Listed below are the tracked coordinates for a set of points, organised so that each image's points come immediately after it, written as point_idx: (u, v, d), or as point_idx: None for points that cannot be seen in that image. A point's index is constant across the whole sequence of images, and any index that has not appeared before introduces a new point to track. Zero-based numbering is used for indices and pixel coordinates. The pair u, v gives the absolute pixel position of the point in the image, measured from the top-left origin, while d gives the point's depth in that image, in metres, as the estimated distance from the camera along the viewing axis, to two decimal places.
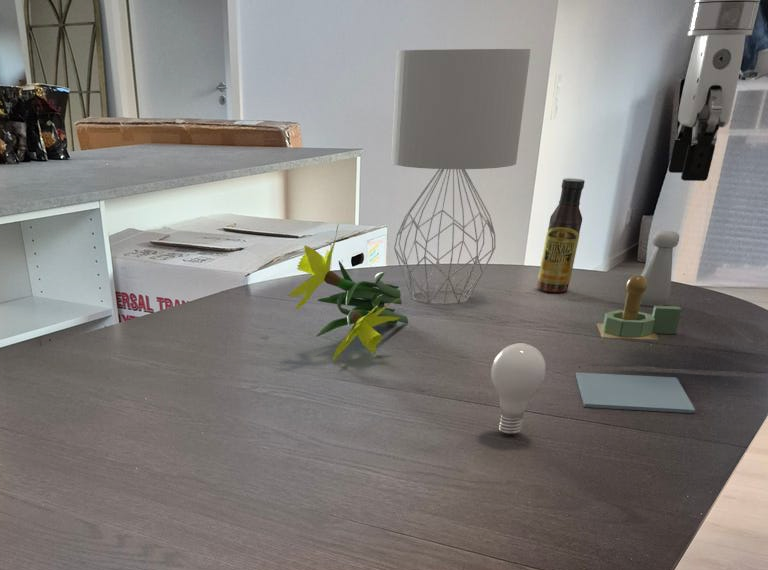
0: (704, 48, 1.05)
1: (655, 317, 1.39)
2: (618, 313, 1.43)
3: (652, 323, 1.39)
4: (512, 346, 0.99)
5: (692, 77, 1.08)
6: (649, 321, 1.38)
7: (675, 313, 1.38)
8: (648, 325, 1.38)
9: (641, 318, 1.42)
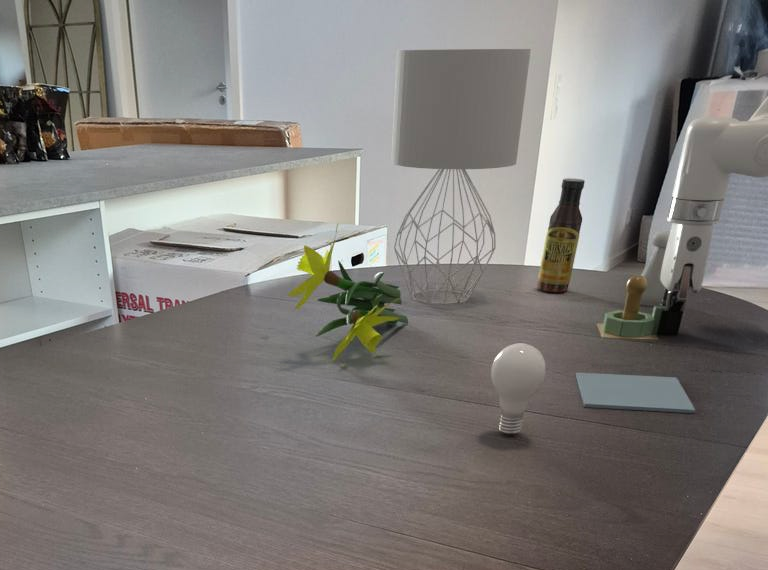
0: (679, 234, 1.30)
1: (655, 317, 1.39)
2: (618, 313, 1.43)
3: (652, 323, 1.39)
4: (512, 346, 0.99)
5: (670, 253, 1.33)
6: (649, 321, 1.38)
7: None
8: (648, 325, 1.38)
9: (641, 318, 1.42)
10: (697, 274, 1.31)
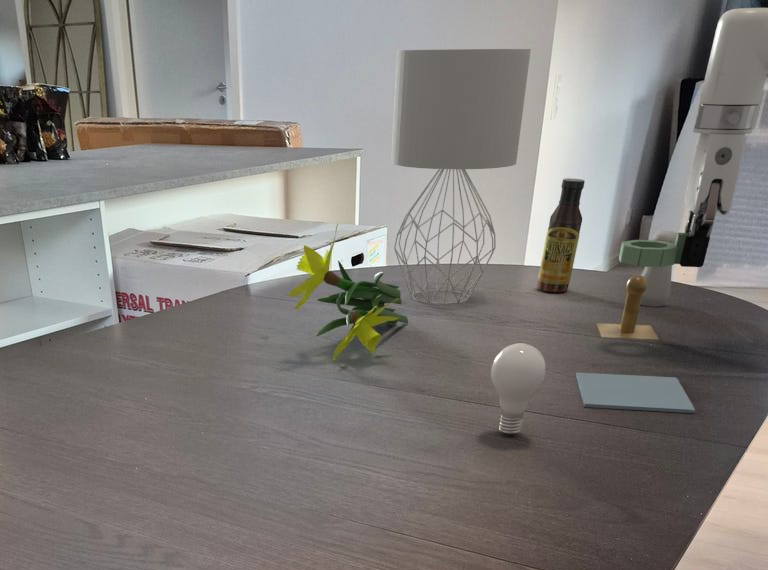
0: (707, 145, 1.15)
1: (678, 245, 1.24)
2: (636, 242, 1.28)
3: (674, 251, 1.24)
4: (512, 346, 0.99)
5: (697, 169, 1.18)
6: (671, 249, 1.23)
7: None
8: (670, 253, 1.24)
9: (662, 247, 1.27)
10: (726, 191, 1.16)
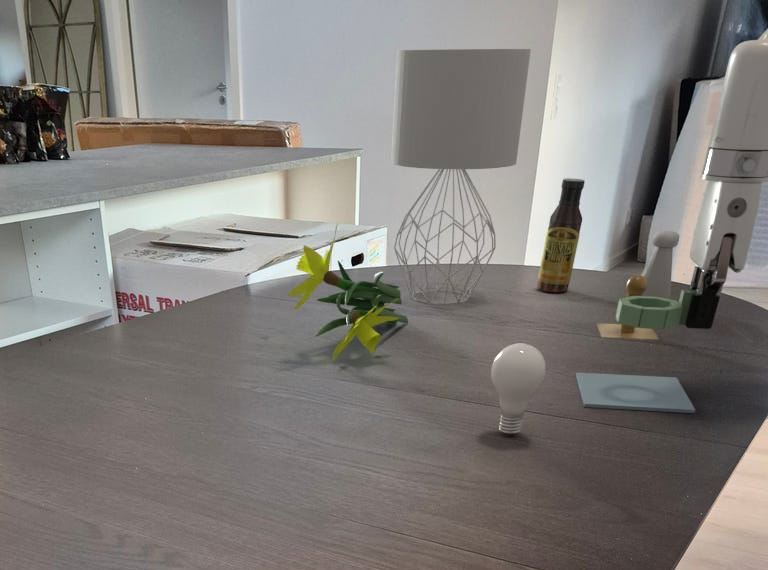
0: (718, 195, 1.00)
1: (683, 304, 1.10)
2: (635, 299, 1.13)
3: (679, 311, 1.09)
4: (512, 346, 0.99)
5: (705, 221, 1.03)
6: (676, 309, 1.09)
7: None
8: (674, 314, 1.09)
9: (665, 305, 1.12)
10: (740, 247, 1.01)
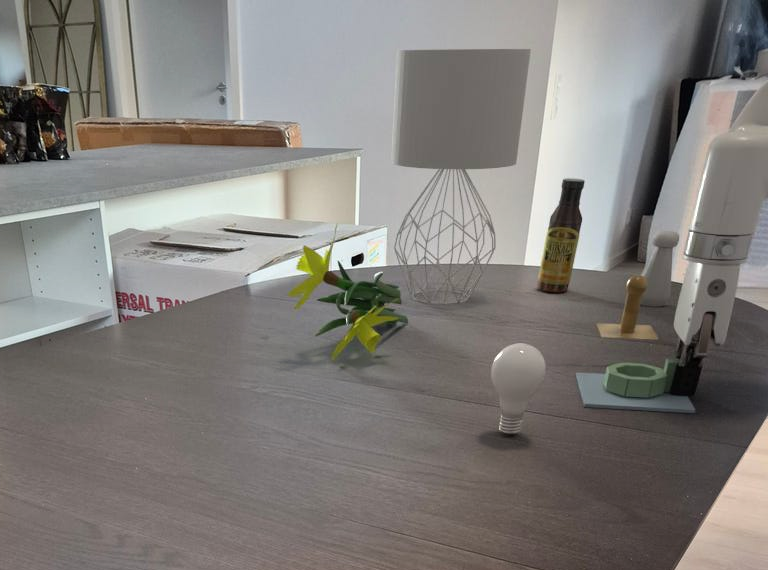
0: (699, 276, 1.05)
1: (667, 373, 1.15)
2: (622, 366, 1.18)
3: (664, 380, 1.14)
4: (512, 346, 0.99)
5: (687, 298, 1.08)
6: (660, 378, 1.14)
7: None
8: (659, 383, 1.14)
9: (650, 373, 1.17)
10: (720, 324, 1.06)
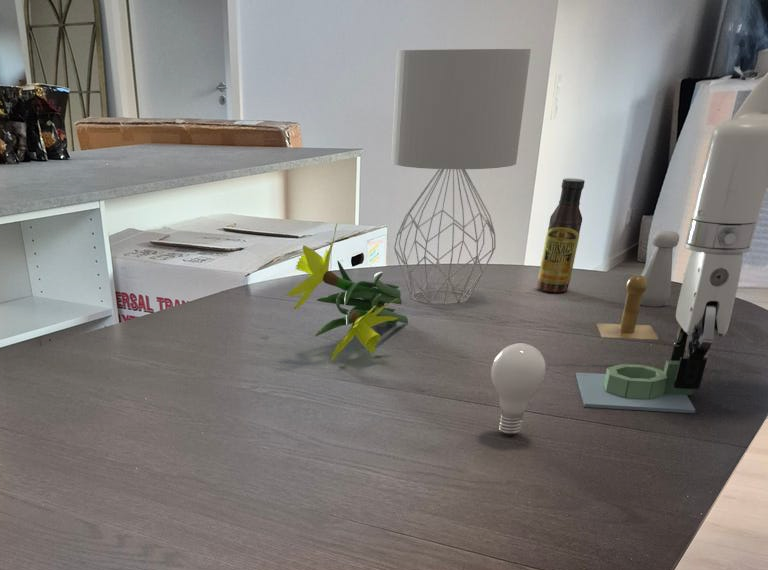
0: (701, 265, 1.04)
1: (668, 374, 1.15)
2: (622, 368, 1.18)
3: (664, 382, 1.14)
4: (512, 346, 0.99)
5: (689, 288, 1.08)
6: (660, 380, 1.14)
7: None
8: (659, 385, 1.14)
9: (650, 374, 1.17)
10: (723, 314, 1.06)
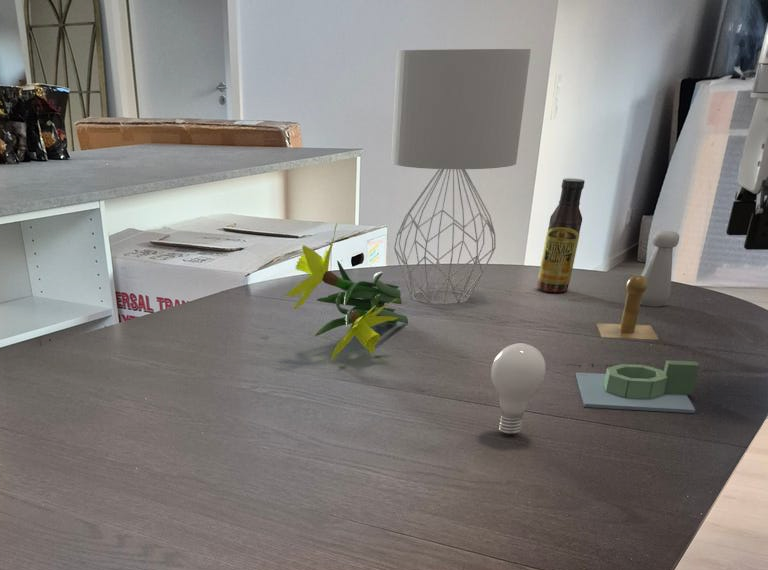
0: None
1: (668, 374, 1.15)
2: (622, 368, 1.18)
3: (664, 382, 1.14)
4: (512, 346, 0.99)
5: (756, 141, 1.01)
6: (660, 380, 1.14)
7: (692, 370, 1.14)
8: (659, 385, 1.14)
9: (650, 374, 1.17)
10: None
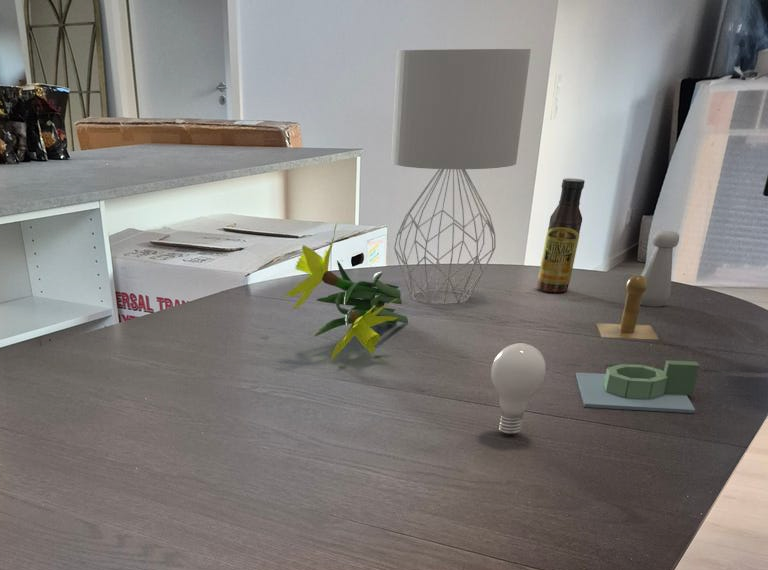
0: None
1: (668, 374, 1.15)
2: (622, 368, 1.18)
3: (664, 382, 1.14)
4: (512, 346, 0.99)
5: None
6: (660, 380, 1.14)
7: (692, 370, 1.14)
8: (659, 385, 1.14)
9: (650, 374, 1.17)
10: None
